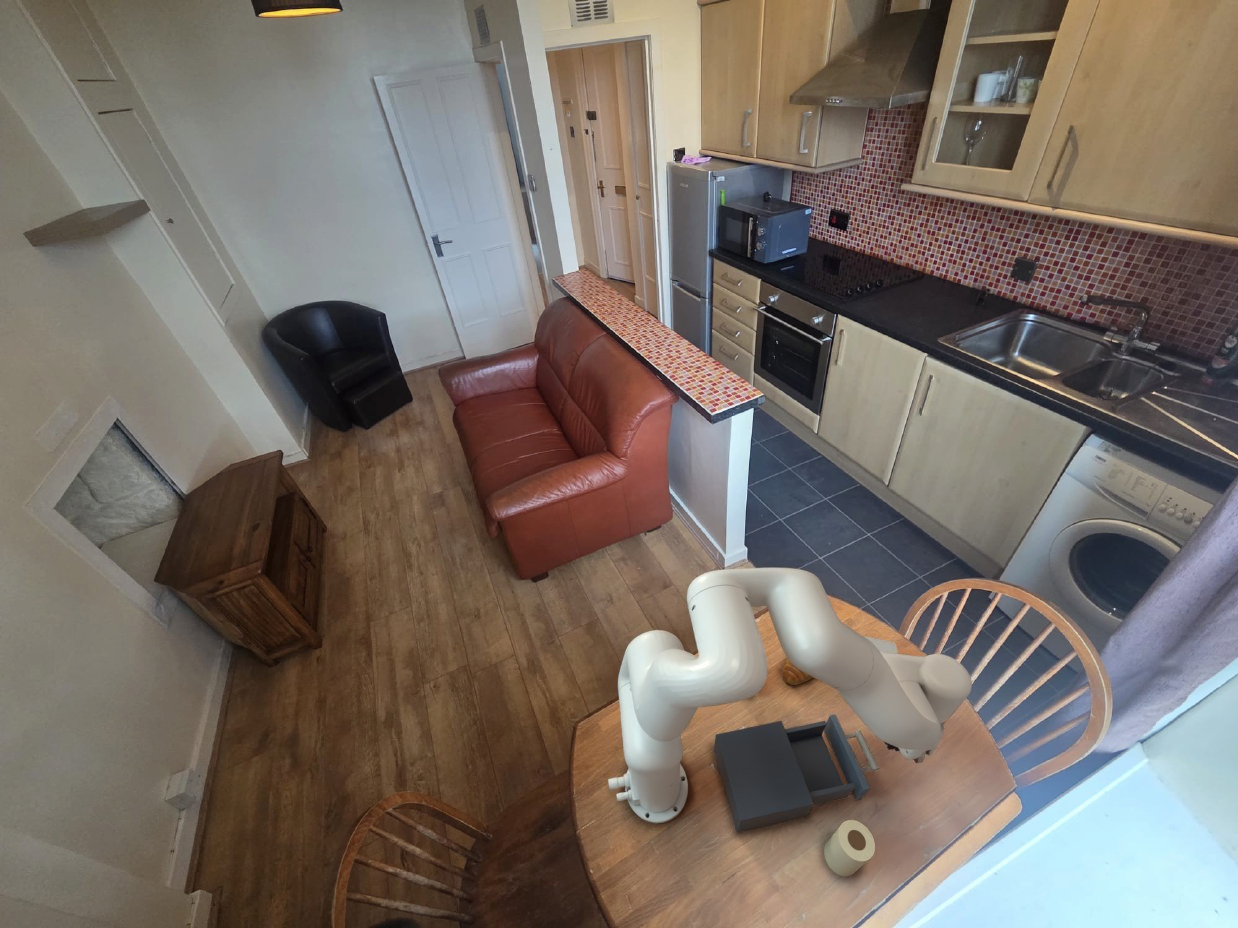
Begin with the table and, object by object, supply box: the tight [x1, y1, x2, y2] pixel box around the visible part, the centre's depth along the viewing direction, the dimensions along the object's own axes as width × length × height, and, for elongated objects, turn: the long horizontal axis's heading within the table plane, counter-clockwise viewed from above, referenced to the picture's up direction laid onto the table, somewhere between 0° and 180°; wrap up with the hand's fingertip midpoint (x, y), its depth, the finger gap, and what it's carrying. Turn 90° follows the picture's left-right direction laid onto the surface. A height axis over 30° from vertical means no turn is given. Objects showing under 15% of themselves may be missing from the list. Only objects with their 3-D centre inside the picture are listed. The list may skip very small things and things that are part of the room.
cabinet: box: [713, 720, 815, 833], centre depth 99 cm, size 14×15×9 cm
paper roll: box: [823, 819, 876, 877], centre depth 88 cm, size 6×6×12 cm
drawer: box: [784, 713, 881, 806], centre depth 100 cm, size 17×13×7 cm
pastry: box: [781, 657, 814, 686], centre depth 116 cm, size 9×7×4 cm
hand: (893, 744), depth 100 cm, fingers closed
